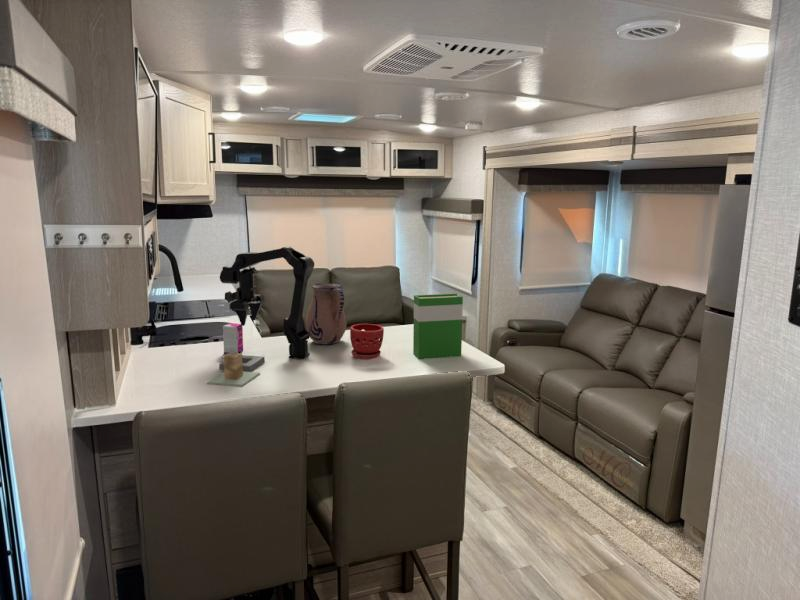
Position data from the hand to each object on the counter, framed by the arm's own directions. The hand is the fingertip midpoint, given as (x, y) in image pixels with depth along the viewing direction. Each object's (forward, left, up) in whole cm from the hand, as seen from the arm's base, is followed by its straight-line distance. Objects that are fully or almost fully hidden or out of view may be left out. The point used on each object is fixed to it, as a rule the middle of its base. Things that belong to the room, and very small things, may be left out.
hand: (248, 322), depth 218 cm
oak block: (-10, +32, -11) cm, 35 cm away
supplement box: (+6, +2, -12) cm, 14 cm away
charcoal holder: (-6, +18, -12) cm, 22 cm away
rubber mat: (-10, +32, -12) cm, 36 cm away
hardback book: (-75, -11, -12) cm, 77 cm away
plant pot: (-48, -4, -12) cm, 50 cm away
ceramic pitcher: (-27, -20, -12) cm, 36 cm away
